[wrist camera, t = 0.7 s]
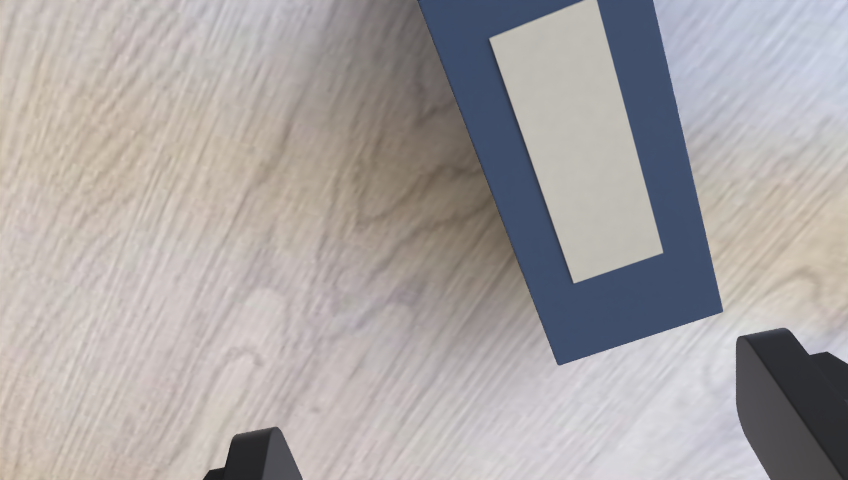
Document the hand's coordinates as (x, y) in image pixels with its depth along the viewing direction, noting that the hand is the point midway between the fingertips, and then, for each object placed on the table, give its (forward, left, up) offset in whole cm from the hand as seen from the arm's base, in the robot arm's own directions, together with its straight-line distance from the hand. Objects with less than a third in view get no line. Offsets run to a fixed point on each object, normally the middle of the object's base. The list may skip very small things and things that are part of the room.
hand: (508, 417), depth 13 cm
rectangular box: (-2, +3, -15) cm, 15 cm away
